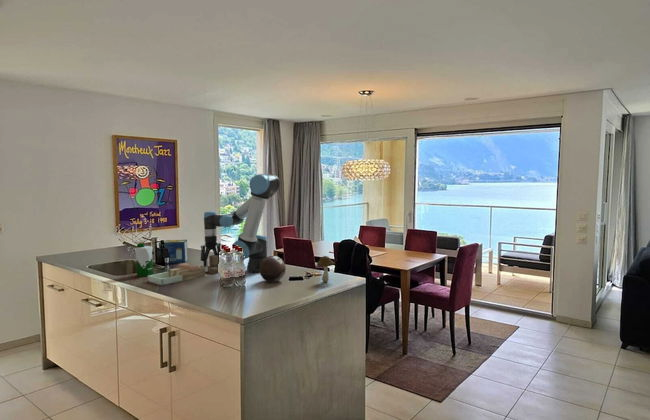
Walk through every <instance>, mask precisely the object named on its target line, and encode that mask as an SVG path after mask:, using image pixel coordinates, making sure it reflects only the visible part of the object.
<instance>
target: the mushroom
mask: <svg viewBox="0 0 650 420" xmlns="http://www.w3.org/2000/svg"><path fill="white" fill-rule="evenodd" d="M316 265H317V267H320V268H322V267H323V273H322V277H321V280H322V282H324V283H327V282H329V277H330V276H329V271H328V269H329V268H328V267H332V266H334V265H335V262H334V261H333V260H332V259H331V258H330V256H328V255H323V256H321V257H320V258H319V260H318V261H317V263H316Z"/></svg>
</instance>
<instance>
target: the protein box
mask: <svg viewBox="0 0 650 420" xmlns="http://www.w3.org/2000/svg"><path fill="white" fill-rule="evenodd" d="M163 242H164V245H165V248H167V249H168V252H169V263H168V264H183V263H187V262H188V260H189V254H188V251H189V250H188V239H172V240H171V239H167V240H164V241H163Z"/></svg>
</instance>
